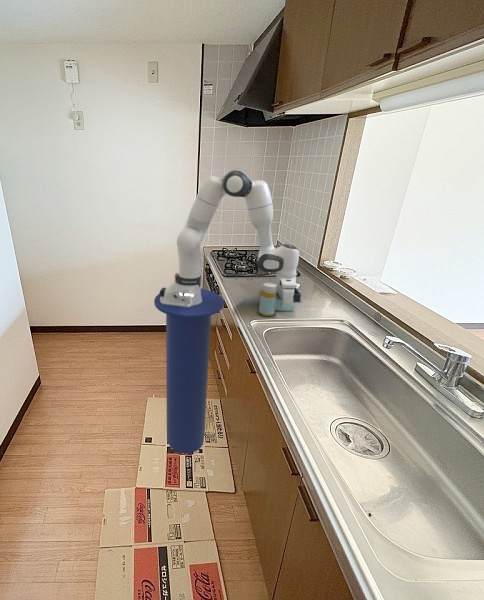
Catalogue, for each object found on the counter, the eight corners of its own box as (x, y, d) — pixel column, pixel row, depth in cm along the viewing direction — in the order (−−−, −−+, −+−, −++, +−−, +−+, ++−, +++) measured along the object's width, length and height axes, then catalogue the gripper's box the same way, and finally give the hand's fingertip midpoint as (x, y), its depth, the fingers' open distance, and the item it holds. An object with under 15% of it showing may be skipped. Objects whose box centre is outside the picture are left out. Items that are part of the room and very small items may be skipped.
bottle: (271, 318, 152) (276, 288, 146) (256, 314, 155) (260, 285, 149) (275, 312, 157) (279, 283, 151) (261, 309, 161) (264, 281, 155)
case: (272, 310, 160) (274, 299, 158) (270, 305, 165) (272, 294, 162) (291, 311, 159) (293, 299, 156) (289, 306, 163) (291, 295, 161)
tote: (270, 300, 171) (271, 293, 169) (266, 290, 184) (267, 283, 183) (299, 301, 169) (301, 294, 167) (293, 291, 182) (294, 284, 181)
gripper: (274, 271, 165) (271, 296, 171) (282, 285, 147) (278, 313, 152) (287, 271, 164) (284, 297, 170) (297, 286, 146) (293, 314, 151)
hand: (281, 304), depth 161 cm, fingers closed on case, 5 cm apart
